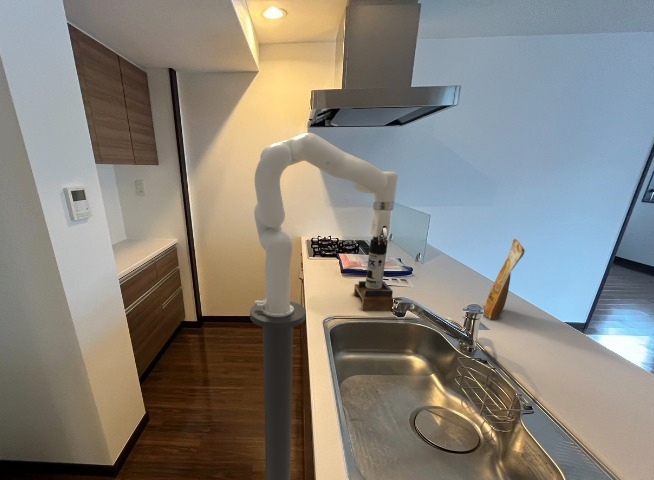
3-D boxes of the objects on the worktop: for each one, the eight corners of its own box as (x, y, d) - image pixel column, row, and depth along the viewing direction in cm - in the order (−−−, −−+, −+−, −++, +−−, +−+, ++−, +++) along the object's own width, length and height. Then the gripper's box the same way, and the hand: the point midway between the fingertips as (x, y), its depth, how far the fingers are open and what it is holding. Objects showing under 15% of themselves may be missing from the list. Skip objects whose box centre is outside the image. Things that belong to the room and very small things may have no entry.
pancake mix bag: (505, 306, 130) (524, 238, 120) (503, 323, 116) (526, 247, 105) (485, 303, 134) (503, 236, 123) (482, 319, 119) (501, 245, 109)
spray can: (361, 286, 135) (366, 239, 127) (373, 283, 138) (379, 237, 130) (373, 291, 129) (379, 242, 122) (385, 288, 132) (391, 240, 125)
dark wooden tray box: (362, 310, 128) (364, 293, 125) (353, 294, 145) (355, 279, 142) (392, 310, 127) (395, 293, 125) (380, 294, 144) (382, 279, 141)
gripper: (367, 204, 129) (363, 247, 136) (379, 208, 113) (373, 257, 120) (386, 204, 129) (381, 247, 136) (400, 208, 113) (393, 257, 120)
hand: (377, 252), depth 128 cm, fingers closed on spray can, 6 cm apart
